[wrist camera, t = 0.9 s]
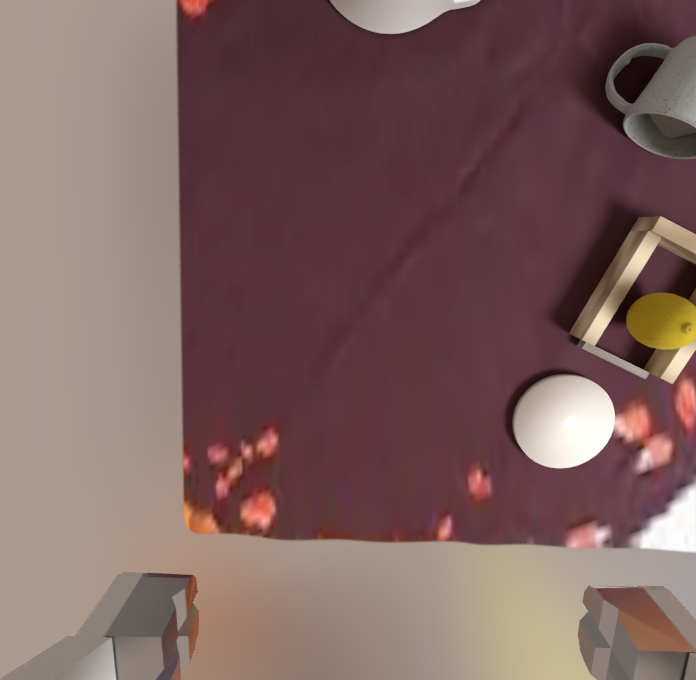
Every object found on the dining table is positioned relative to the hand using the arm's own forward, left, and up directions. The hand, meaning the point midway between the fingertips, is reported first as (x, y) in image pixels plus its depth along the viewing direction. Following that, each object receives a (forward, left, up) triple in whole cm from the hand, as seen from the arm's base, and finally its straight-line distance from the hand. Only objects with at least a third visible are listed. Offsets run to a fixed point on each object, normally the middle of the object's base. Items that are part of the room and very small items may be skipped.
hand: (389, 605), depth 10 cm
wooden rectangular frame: (-13, +27, -41) cm, 51 cm away
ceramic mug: (-30, +17, -41) cm, 54 cm away
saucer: (+2, +26, -41) cm, 49 cm away
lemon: (-12, +27, -41) cm, 51 cm away
